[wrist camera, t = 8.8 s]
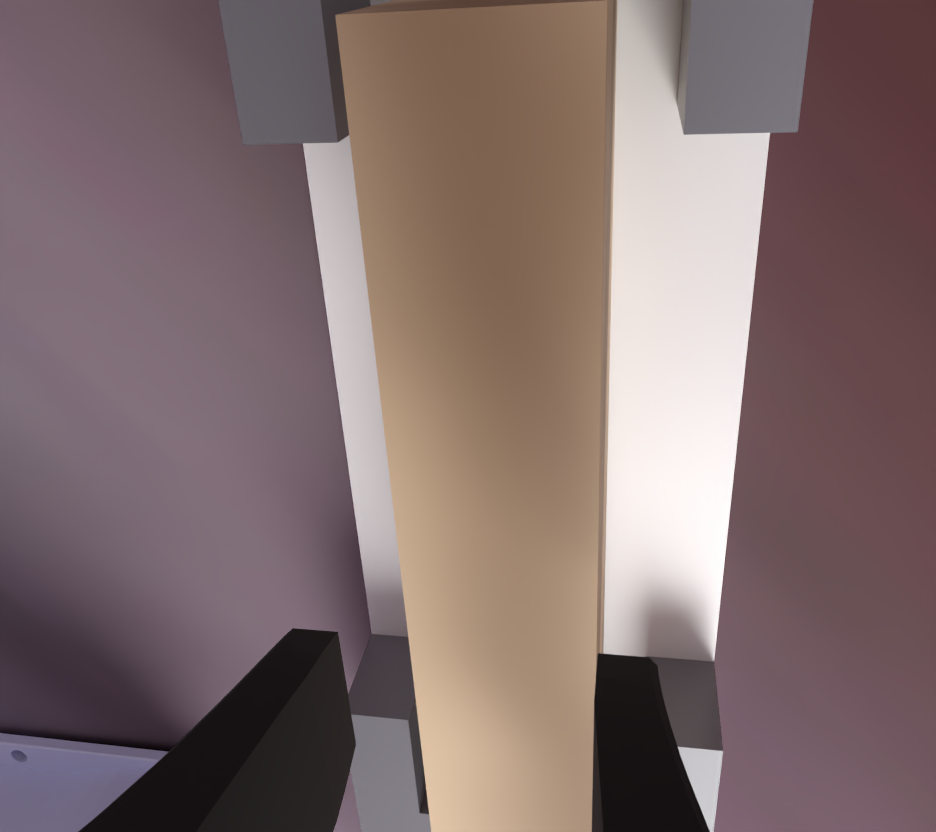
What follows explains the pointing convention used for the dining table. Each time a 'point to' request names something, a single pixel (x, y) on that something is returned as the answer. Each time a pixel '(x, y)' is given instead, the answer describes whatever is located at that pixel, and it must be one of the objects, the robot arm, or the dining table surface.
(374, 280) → the oak slat
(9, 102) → the dining table surface
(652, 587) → the cradle
